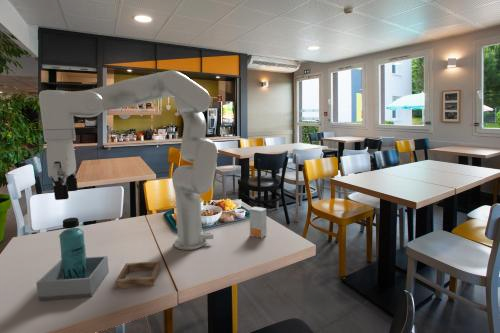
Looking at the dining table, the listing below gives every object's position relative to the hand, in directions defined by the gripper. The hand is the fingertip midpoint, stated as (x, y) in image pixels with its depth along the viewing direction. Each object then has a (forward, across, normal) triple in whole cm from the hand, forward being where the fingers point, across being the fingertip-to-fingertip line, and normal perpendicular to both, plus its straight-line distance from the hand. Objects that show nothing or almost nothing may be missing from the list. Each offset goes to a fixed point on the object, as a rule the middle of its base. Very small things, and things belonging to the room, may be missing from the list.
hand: (67, 194), depth 87 cm
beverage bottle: (+27, +1, 0) cm, 27 cm away
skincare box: (+29, -18, +64) cm, 73 cm away
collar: (+28, +2, +18) cm, 33 cm away
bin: (+28, 0, 0) cm, 28 cm away
